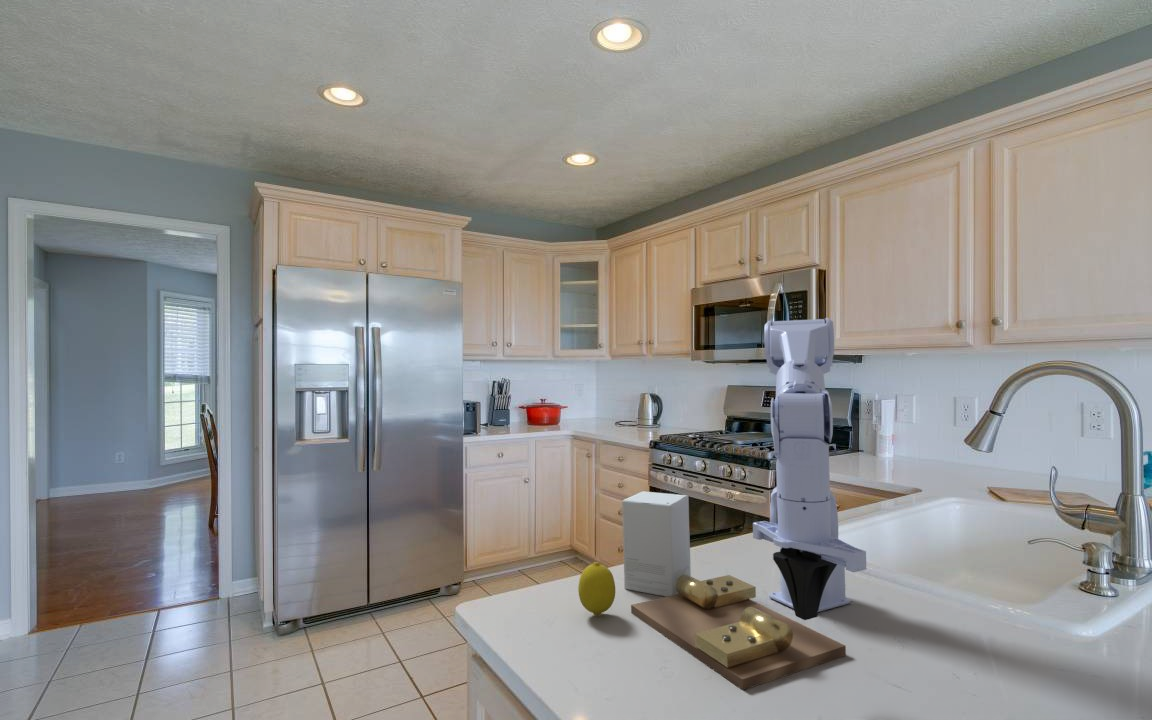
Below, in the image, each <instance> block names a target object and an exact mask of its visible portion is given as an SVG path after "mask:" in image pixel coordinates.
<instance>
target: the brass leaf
mask: <svg viewBox="0 0 1152 720" xmlns="http://www.w3.org/2000/svg"><path fill="white" fill-rule="evenodd" d="M792 639H793V631H792V628H791V627H790V626H789V625H788V624H786V623H784V622H782V621H780V620H778V619H776V618H774V617H772V616H770V615H768V614H766V613H764V612H762V611H760V610H758V609H756V608H754V607H748V608H746V609H745V610H744V611H743V612H742V614H741V618H740V622H737V623H733V624H729V625H725V626H722V627H718V628H714V629H711V630H707V631H703V632H699V633H696V634H695V646H696V647H697V648H699V649H700V650H702V651H703V652H705V653H706V654H708V655H709V656H711V657H712V658H714V659H715V660H717V661H718V662H720V663H721V664H723V665H724V666H726V667H727V668H728V667H731V666H735V665H738V664H741V663H744V662H747V661H751V660H754V659H757V658H760V657H764V656H767V655H770V654H773V653H776V652H778V650H785V649H787V648H788V647H789V646H790V644H791V642H792Z"/></svg>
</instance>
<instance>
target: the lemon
mask: <svg viewBox="0 0 1152 720" xmlns="http://www.w3.org/2000/svg"><path fill="white" fill-rule="evenodd" d="M577 587H578V590H577V591H578V597H579V601H580V604H582V606H583V608H584V609H585V610H586V611H588V612H590V613H592V614H593V616H595V617H599V616H600V615H602V613H605V612H606V611H608V610H609V609H610V608H611V607H612V605H613V603H614V601H615V598H616V582H615V579H614V575H613V573H612V571H611V570H610V569H609V568H608V567H607V566H606V565H603V564H602V563H600V562H598V561H593V563H591V564H589V565H587V566H586V568H584V569H583V571H582V572H581V574H580V577H579V581H578V586H577Z"/></svg>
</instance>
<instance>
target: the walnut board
mask: <svg viewBox="0 0 1152 720" xmlns="http://www.w3.org/2000/svg"><path fill="white" fill-rule="evenodd" d="M748 607H754V608H756V609H758V610H760V611H762V612H764V613H766V614H768V615H770V616H772V617H774V618H776V619H778V620H780V621H782V622H784V623H786V624H788V625H789V626H790V627H791V628H792V631H793V639H792V642H791V644H790V646H789V647H788V648H787V649H785V650H778V652H776V653H773V654H770V655H767V656H764V657H760V658H757V659H754V660H751V661H747V662H744V663H741V664H738V665H735V666H731V667H728V668H727V667H726V666H724V665H723V664H721V663H720V662H718V661H717V660H715V659H714V658H712V657H711V656H709V655H708V654H706V653H705V652H703V651H702V650H700V649H699V648H697V647H696V646H695V634H696V633H699V632H703V631H707V630H711V629H714V628H718V627H722V626H725V625H729V624H733V623H737V622H740V618H741V614H742V612H743V611H744V610H745V609H746V608H748ZM630 608H631V609H630V610H631V611H630V613H631V614H632V615H633V616H635V617H637V618H638V619H640V620H641V621H642V622H644V623H645V624H647V625H648V626H649V627H651V628H652V629H654V630H656V631H657V632H658V633H659V634H661V635H662V636H664V637H665V638H667V639H669V641H671V642H672V643H674V644H676V645H677V646H679V647H680V648H681V649H682V650H683V651H686V652H687V653H689V655H691V656H693V657H694V658H695V659H697V660H698V661H700V662H701V663H703V664H705V665H706V666H707V667H708V668H710V669H711V670H713V669H714V670H713V671H715V672H716V671H717V672H718V674H719V675H720V674H721V675H720V676H721V677H723V678H724V679H726V680H727V679H728V680H727V681H729V682H731V683H732V684H733V685H735V686H736V687H737V688H739V689H740V690H742V691H743V690H744V691H745V690H748V689H750V688H753V687H756V686H759V685H762V684H765V683H768V682H770V681H773V680H777V679H780V678H782V677H786V676H789V675H792V674H794V673H797V672H801V671H803V670H806V669H809V668H812V667H815V666H817V665H821V664H824V663H827V662H830V661H833V660H836V659H839V658H842V657H845V656H847V649H846V648H847V647H846V644H843V643H841V642H839V641H837V640H835V639H833V638H831V637H829V636H827V635H824V634H822V633H820V632H818V631H816V630H814V629H812V628H811V627H807V626H805V625H804V624H801V623H800V622H797V621H795V620H793V619H792V618H789V617H787V616H785V615H783V614H781V613H779V612H777V611H775V610H773V609H770V608H769V607H767V606H765V605H763V604H760V603H758V602H757V601H753V600H752V599H747V600H743V601H739V602H735V603H731V604H727V605H723V606H719V607H712V608H710V609H705V608H703V607H701V606H700V605H698V604H696V603H694V602H692V601H691V600H689V599H687V598H685V597H683V596H682V595H680V594H679V593H677V594H676V595H672V596H668V597H666V596H662V597H660V598H656V599H651V600H647V601H642V602H638V603H634V604H631V605H630ZM717 672H716V673H717ZM785 675H786V676H785Z"/></svg>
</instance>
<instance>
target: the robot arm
mask: <svg viewBox="0 0 1152 720" xmlns="http://www.w3.org/2000/svg"><path fill="white" fill-rule="evenodd" d="M763 327H764V329H763V330H764V331H763V332H764V337H763V339H764V340H763V341H764V342H763V343H764V354H765V355H764V356H765V358H766V365H767V368H768V370H769V373H771V374H773V375H775V376H776V378H775V379H776V381H775V399H774V397H772V398H771V400H770V429H771V435H772V440H773V449H774V450H773V451H774V458H776V462H775V470H776V471H775V472H776V474H775V475H776V486H775V487H774V488H773V489H772V491H771V493H770V503H769V521H766V520H763V521H761V520H760V521H755V522H752V537H753V539H755V540H758V541H759V540H765V541H768V542H771V543H773V545H775V546H776V547H779V551H775V552H773V554H772V561H774V564H776V566H777V568H778V569H779V571H780V577H779V578H780V590H778V591H775V592H770V593H768V597H769V598H770V599H772V600H774V601H777V602H779V603H781V604H783V605H785V606H787V607H790V608H792V609H793V611H794V615H795V617H796V618H799V619H801V620H804V621H807V620H812V619H815V618H817V617H818V613H819V612H824V611H826V610H829V609H834V608H837V607H840V606H845V605H847V604H848V605H849V604H850V603H851V599H850V598H847V597H846V571H849V572H851V573H857V572H861V571H866V570H867V551H866V550H863V549H860V548H858V547H855V546H852V545H851V544H848V543H847V542H844V541H843V540H841V539H839V516H838V515H839V513H838V508H837V507H838V506H837V498H836V496H835V494H834V492H833V491H832V490H831V485H830V484H831V481H830V480H831V479H830V446H829V444H828V443H827V442H826V440H825V437H826V438H828V442H829V443H830V444H831V443H832V438H833V434H834V433H833V432H834V431H833V430H834V425H833V424H834V417H833V416H834V415H833V402H832V400H831V399H832V398H831V397H830V392H829V391H828V390H827V389H826V387H825V385H826V384H825V374H827V373H830V371H831V367H832V366H833V359H834V355H835V329H834V328H835V327H834V321H833V320H831V318H830V317H825V318H823V319H822V318H818V319H817V318H816V319H815V318H814V319H795V320H794V319H793V320H776V321H772V320H767V322H766V323H765V324H764V326H763Z"/></svg>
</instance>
